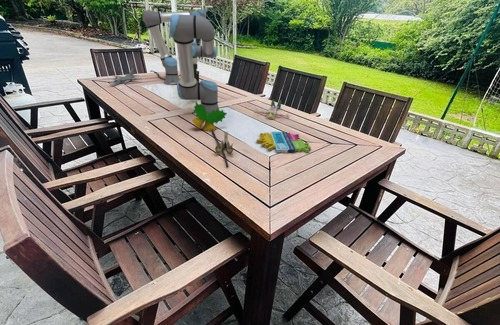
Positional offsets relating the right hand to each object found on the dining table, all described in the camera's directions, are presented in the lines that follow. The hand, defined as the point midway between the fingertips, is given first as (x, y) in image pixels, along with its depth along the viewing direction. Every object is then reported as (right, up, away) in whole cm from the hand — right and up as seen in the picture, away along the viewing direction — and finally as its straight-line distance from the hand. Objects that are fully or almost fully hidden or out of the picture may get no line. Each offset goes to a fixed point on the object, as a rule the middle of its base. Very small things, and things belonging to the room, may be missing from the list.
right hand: (193, 94), depth 209 cm
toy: (+63, -18, -10) cm, 66 cm away
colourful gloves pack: (+64, -43, -56) cm, 96 cm away
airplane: (-76, +23, +45) cm, 92 cm away
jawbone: (+32, -49, -70) cm, 91 cm away
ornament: (+20, -33, -44) cm, 59 cm away
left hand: (-4, +63, +63) cm, 89 cm away
